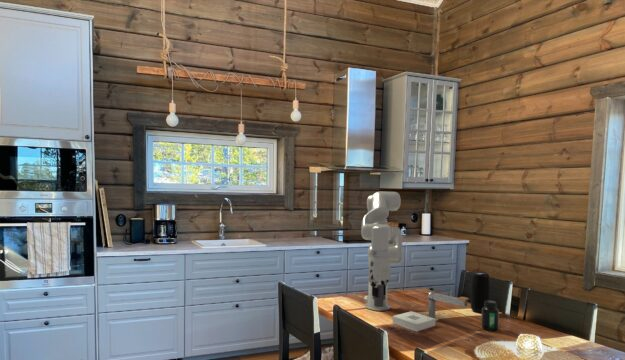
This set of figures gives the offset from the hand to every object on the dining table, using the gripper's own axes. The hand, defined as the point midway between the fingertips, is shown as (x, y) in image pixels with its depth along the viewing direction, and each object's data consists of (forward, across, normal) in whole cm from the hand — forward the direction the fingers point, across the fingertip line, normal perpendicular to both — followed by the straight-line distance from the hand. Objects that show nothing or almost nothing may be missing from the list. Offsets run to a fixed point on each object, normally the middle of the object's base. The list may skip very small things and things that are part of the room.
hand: (378, 295), depth 182 cm
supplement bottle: (+13, +38, -31) cm, 51 cm away
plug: (+5, 0, 0) cm, 5 cm away
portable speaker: (+13, +59, -14) cm, 62 cm away
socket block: (+13, +17, -10) cm, 23 cm away
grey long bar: (+3, +26, -17) cm, 31 cm away
